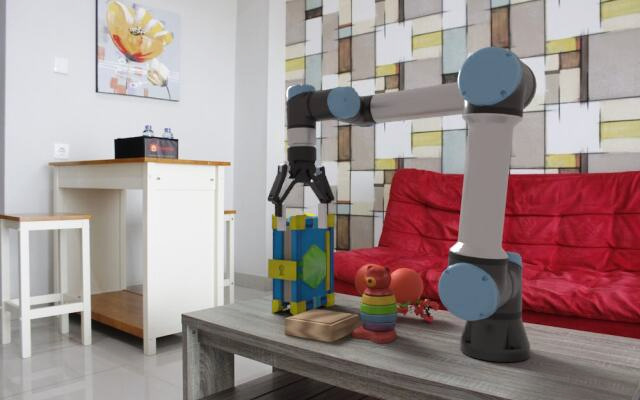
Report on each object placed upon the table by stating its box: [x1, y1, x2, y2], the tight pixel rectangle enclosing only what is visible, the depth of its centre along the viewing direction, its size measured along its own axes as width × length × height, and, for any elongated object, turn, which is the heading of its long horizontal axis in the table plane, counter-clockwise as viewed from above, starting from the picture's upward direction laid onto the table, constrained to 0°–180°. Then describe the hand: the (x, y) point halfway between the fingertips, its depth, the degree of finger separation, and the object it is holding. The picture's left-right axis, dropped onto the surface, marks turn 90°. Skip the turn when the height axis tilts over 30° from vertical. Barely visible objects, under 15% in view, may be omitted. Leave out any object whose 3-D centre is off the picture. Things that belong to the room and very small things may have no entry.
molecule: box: [354, 263, 440, 324], centre depth 149 cm, size 25×11×15 cm, turn 60°
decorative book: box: [267, 212, 336, 316], centre depth 160 cm, size 14×23×30 cm, turn 145°
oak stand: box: [284, 308, 360, 343], centre depth 133 cm, size 14×14×4 cm
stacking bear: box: [351, 265, 398, 344], centre depth 129 cm, size 11×10×18 cm
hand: (302, 229), depth 131 cm, fingers open, 13 cm apart
